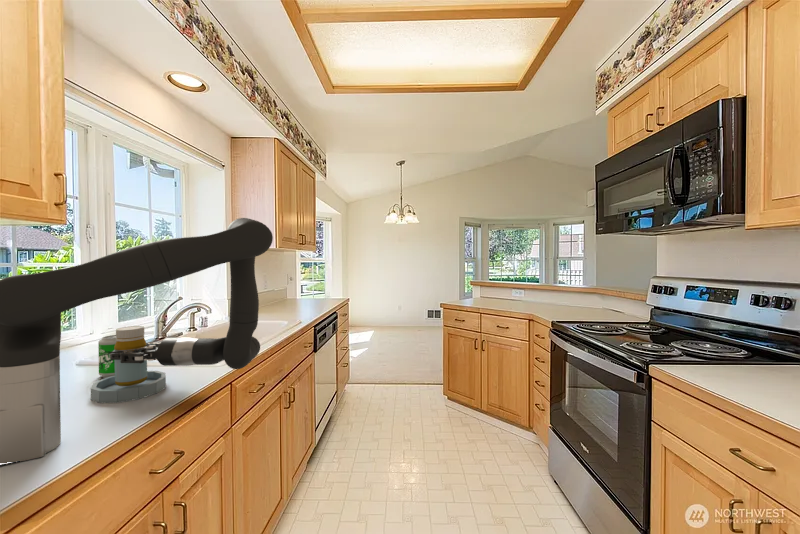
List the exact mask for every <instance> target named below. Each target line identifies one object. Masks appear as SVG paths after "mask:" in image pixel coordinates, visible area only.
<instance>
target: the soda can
mask: <svg viewBox="0 0 800 534" xmlns="http://www.w3.org/2000/svg"><path fill="white" fill-rule="evenodd" d="M97 344H98V347H97V348H98V375H99V376H100V377H102V379H104V378H107V377H111V376H115V360H111V359H110V352H112V351H114V346H115V344H116V334H112V335H105V336H103V337H101V339H100V340H99V341H98V343H97Z"/></svg>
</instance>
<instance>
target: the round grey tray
mask: <svg viewBox="0 0 800 534" xmlns="http://www.w3.org/2000/svg"><path fill="white" fill-rule="evenodd" d="M166 376H167V375H166V372H163V371H159V370H147V379H146V380H145V381H144V382H142V383H139V384H136V385H131V386H118V385H117V384H115V376H111V377H107V378H102V379H100V380H98V381H97V380H96V381H95V382H93V383H92V385H91V387H90V400H91V401H93V402H96V403H99V404H110V403H111V404H113V403H114V404H115V403H116V404H117V403H124V402H129V401H135V400H139V399H143V398H146V397H149V396H153V395H155V394H158V393H159V392H161V391H162V390H164V389H166V386H167V385H166V384H167V383H166V382H167V380H166V378H167V377H166Z"/></svg>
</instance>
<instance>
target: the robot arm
mask: <svg viewBox="0 0 800 534" xmlns="http://www.w3.org/2000/svg"><path fill="white" fill-rule="evenodd" d="M273 238H274V236H273V233H272V231H271V230H270V228H269V227H268V226H267V225H266V224H264V223H263V222H260V221H258V220H255V219H251V218H248V217H239V218H236V219H234V220H233V221H231V222H230V223H229V225H228V227H227V229H226V230H222V231H219V232H216V233H212V234H207V235H201V236H200V235H199V236H184V237H175V238H166V239H162V240H161V239H160V240H155V241H151V242H148V243H143V244H140V245H135V246H131V247H128V248H124V249H122V250H119V251H115V252H113V253H109V254H107V255H105V256H101V257H99V258H95V259H94V260H91V261H88V262H85V263H81V264H78V265H74V266H69V267H65V268H59V269H54V270H47V271H42V272H37V273H36V272H35V273H29V274H28V273H25V274H24V273H23V274H17V275H12V276H11V275H10V276H8V277H5V278H2V279H0V463H7V462H16V461H20V462H24V461H28V460H34V459H39V458H41V457H42V458H43V457H44V456H45V454H47V453H48V452H50V451H53V450H54V449H56V448H57V447H58V446H60V444H61V442H62V438H61V437H62V433H61V431H62V430H61V429H62V428H61V427H62V426H61V424H62V423H61V421H62V419H61V350H60V349H61V341H62V340H61V339H62V313H64V312H66V311H68V310H71V309H74V308H77V307H80V306H82V305H84V304H88V303H90V302H94V301H98V300H102V299H105V298H110V297H115V296H120V295H123V294H128V293H132V292H136V291H141V290H145V289H149V288H152V287H155V286H159V285H162V284H165V283H169V282H171V281H172V282H173V281H174V280H177V279H180V278H183V277H186V276H189V275H193V274H195V273H196V274H197V273H199V272H202V271H204V270H207V269H209V268H212V267H215V266H219V265H223V264H226V263H229V269H230V304H229V326H228V330H227V333H226V336H224V337H220V338H219V337H218V338H205V337H204V338H200V337H199V338H198V337H187V336H186V337H165V338H164V339H162V340H160V341H159V340H156V341H154V342H148V343H146V345H147V347H139V348H135V350H129V351H128V350H126V351H112V352H110V359H111V360H121V361H120V363H144V361H145V360H147V362H151V361H156V360H157V361H158V363H159V364H160V365H161V366H163V367H166V366H167V367H168V366H170V367H174V366H175V367H177V366H178V367H181V366H182V367H184V366H185V367H187V366H188V367H189V366H196V365H197V366H199V365H200V366H204V365H205V366H211V365H216V364H218V363H221V362H225V364H226V365H227V367H228V368H230V369H233V370H240V369H243V368H245V367H247V366H248V365H249V364H250V363H251V362H252V361H253V360H254V359H255V358H256V357H257V356H258V354H259V353H260V350H261V344H260V341H259V340H258V339H257V338H256V337H255V336H253V334H254V332H255V331H256V329H257V328H258V322H259V309H260V308H259V307H260V303H259V302H260V300H259V292H258V286H257V282H256V281H257V280H256V272H255V270H256V269H255V263H256V262H255V261H256V257H259V256H261V255H263V254H265V253H266V252H267V251H268V250H269V249H270V247H271V246H272V244H273V240H274V239H273ZM139 350H142V351H141V352H139ZM16 463H17V462H16Z"/></svg>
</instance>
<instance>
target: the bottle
mask: <svg viewBox="0 0 800 534" xmlns="http://www.w3.org/2000/svg"><path fill="white" fill-rule="evenodd" d="M115 335H116V344H115V346H114V351H126V350H128V351H129V350H135V348H139V347H147V345H146V344H147V342H146V339H145V326H143V325H130V326H123V327H119V328H116V330H115ZM141 351H142V350H139V352H141ZM120 361H121V360H115V384H117V385H118V386H131V385H136V384H139V383H142V382H144V381H145V380H146V379H147V371H148V360H145V361H144V363H120Z"/></svg>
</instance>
